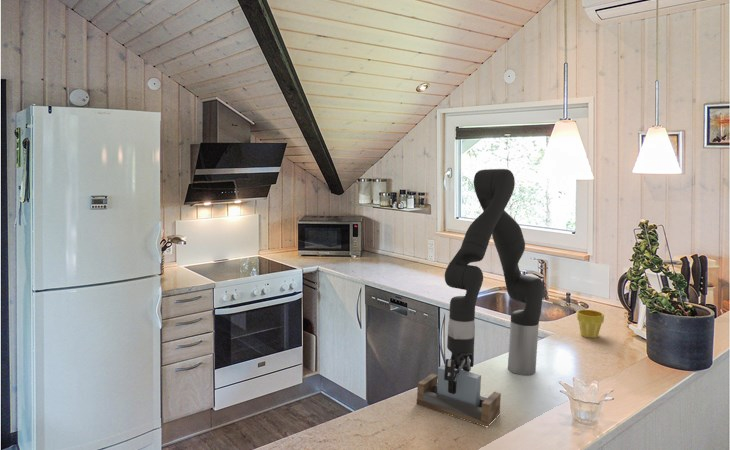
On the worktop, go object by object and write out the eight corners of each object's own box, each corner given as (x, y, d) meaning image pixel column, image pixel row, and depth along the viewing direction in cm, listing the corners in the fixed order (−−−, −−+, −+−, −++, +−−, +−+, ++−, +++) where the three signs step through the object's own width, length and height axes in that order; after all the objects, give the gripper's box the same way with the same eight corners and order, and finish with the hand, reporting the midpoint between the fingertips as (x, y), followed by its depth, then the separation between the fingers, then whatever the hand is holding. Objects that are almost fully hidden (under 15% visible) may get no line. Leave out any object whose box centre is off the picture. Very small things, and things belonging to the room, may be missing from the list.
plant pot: (570, 332, 222) (572, 309, 220) (591, 330, 224) (592, 308, 223) (586, 340, 212) (588, 317, 210) (608, 338, 214) (610, 315, 213)
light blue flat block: (441, 396, 155) (442, 364, 154) (479, 408, 148) (481, 375, 147) (436, 400, 153) (438, 367, 152) (475, 412, 146) (476, 378, 145)
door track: (431, 393, 161) (432, 373, 160) (499, 415, 148) (501, 393, 147) (416, 404, 154) (417, 383, 153) (487, 427, 141) (488, 405, 140)
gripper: (459, 324, 156) (457, 376, 158) (437, 337, 144) (435, 393, 146) (483, 329, 151) (480, 383, 154) (462, 343, 140) (459, 400, 142)
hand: (458, 387), depth 150 cm, fingers open, 8 cm apart
